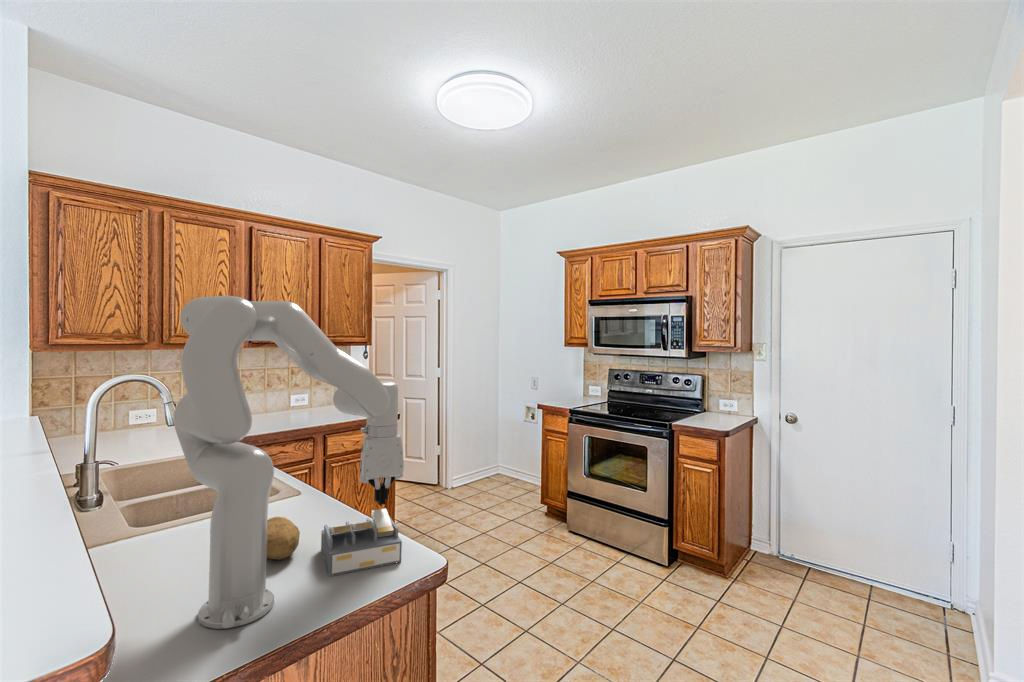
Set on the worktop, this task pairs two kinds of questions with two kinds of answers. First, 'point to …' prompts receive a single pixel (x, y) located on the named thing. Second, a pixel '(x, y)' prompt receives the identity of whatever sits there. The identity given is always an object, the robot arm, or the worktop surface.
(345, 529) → the rocker
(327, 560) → the box
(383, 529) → the block
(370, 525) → the rocker
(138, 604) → the worktop surface
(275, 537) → the potato
